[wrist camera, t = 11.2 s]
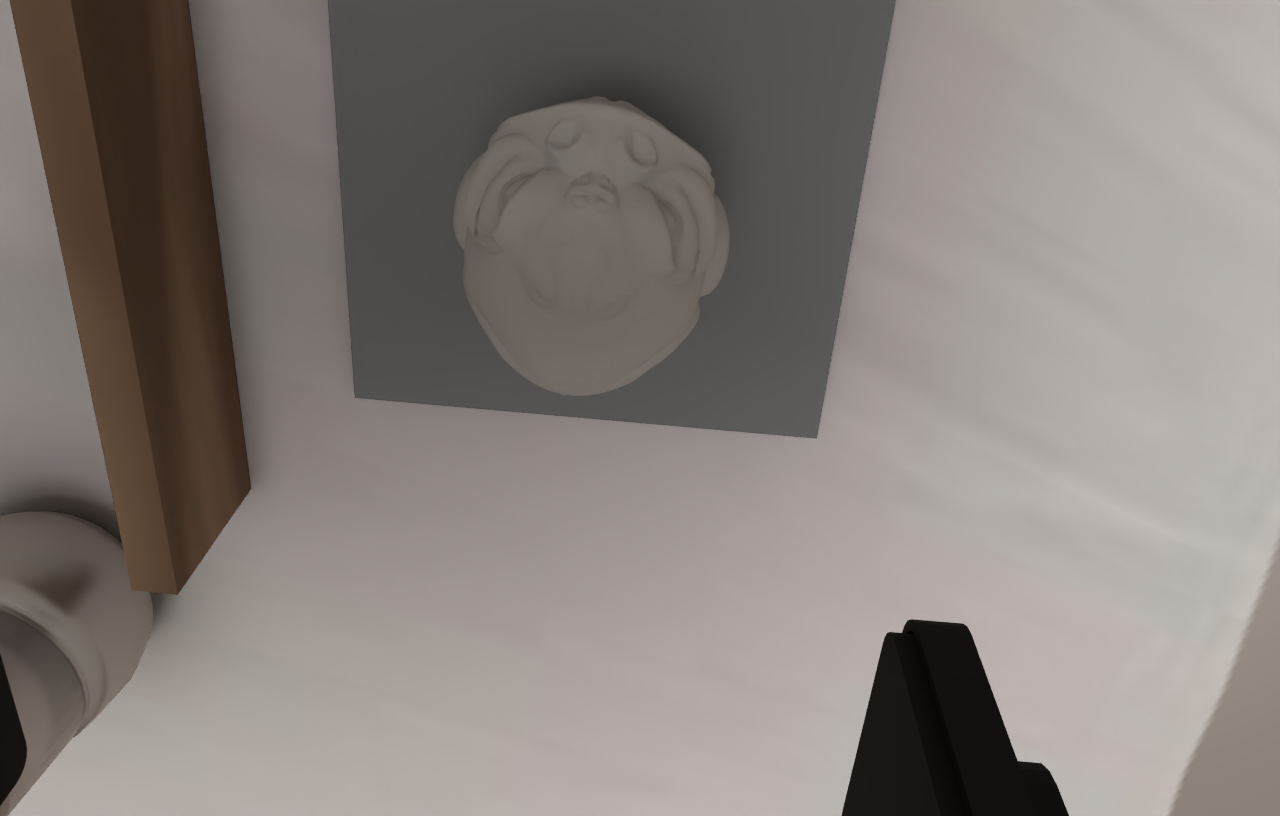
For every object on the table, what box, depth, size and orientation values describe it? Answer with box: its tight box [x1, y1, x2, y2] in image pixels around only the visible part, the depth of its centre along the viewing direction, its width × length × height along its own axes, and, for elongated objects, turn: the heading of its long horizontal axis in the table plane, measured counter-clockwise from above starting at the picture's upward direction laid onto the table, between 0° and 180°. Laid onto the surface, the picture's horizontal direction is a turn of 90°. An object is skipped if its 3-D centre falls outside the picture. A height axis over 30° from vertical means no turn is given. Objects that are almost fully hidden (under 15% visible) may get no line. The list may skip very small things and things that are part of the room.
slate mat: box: [328, 0, 896, 438], centre depth 26 cm, size 13×13×1 cm
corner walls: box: [10, 0, 251, 595], centre depth 24 cm, size 23×22×5 cm
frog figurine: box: [453, 96, 730, 396], centre depth 23 cm, size 6×7×7 cm
